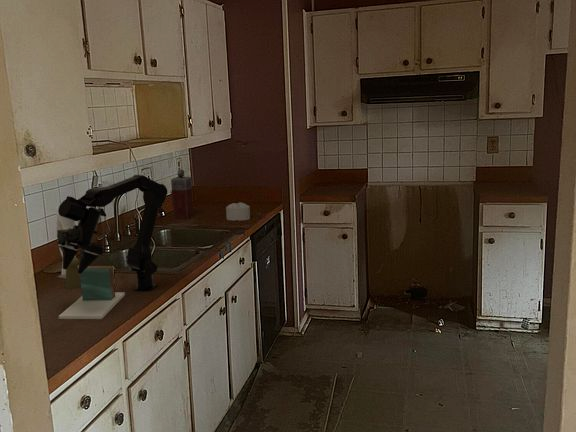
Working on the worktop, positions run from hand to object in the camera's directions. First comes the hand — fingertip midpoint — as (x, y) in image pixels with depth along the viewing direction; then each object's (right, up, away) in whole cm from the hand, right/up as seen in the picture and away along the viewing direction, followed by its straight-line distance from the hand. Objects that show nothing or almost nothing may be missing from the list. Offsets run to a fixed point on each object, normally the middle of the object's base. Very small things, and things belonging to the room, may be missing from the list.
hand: (71, 271), depth 185 cm
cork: (-10, -9, +30) cm, 32 cm away
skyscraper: (-17, -6, +43) cm, 46 cm away
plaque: (+5, -11, +13) cm, 17 cm away
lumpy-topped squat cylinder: (+42, +16, +140) cm, 147 cm away
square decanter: (+9, +17, +146) cm, 147 cm away
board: (+4, -13, +8) cm, 16 cm away
